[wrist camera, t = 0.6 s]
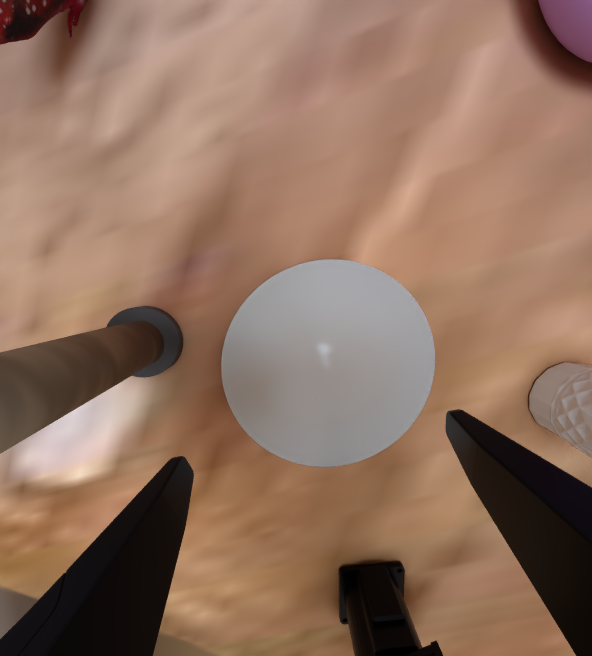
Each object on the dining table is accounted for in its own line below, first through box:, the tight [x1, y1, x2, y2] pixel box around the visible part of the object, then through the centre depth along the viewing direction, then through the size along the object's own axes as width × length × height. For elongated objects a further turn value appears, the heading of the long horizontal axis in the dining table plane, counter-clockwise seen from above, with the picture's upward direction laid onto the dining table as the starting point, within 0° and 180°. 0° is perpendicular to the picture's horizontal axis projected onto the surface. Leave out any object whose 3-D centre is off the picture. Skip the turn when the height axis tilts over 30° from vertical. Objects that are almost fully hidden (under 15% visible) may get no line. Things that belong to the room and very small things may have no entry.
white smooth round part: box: [221, 259, 435, 467], centre depth 22 cm, size 18×18×1 cm
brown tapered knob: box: [0, 306, 183, 453], centre depth 15 cm, size 6×6×13 cm
